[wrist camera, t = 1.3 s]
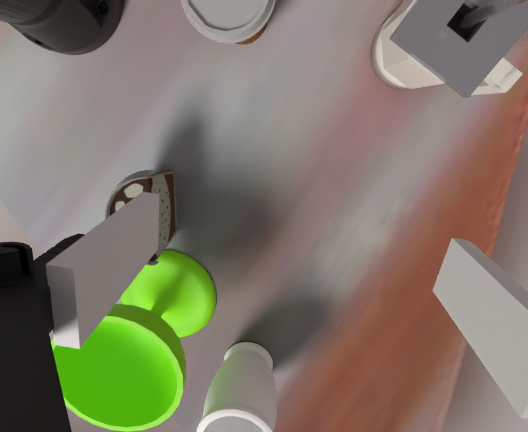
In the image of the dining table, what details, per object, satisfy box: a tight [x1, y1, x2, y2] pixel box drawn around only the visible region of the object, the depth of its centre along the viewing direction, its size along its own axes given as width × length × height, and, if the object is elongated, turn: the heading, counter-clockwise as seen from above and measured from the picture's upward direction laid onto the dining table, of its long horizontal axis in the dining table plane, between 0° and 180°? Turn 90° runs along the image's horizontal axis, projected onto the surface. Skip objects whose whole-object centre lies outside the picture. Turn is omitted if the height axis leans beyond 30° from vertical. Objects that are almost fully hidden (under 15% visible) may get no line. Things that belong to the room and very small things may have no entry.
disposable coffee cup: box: [181, 0, 276, 44], centre depth 38 cm, size 10×10×12 cm
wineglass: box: [51, 250, 216, 432], centre depth 48 cm, size 16×16×18 cm
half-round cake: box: [105, 170, 177, 266], centre depth 47 cm, size 12×6×10 cm, turn 178°
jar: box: [197, 342, 277, 432], centre depth 52 cm, size 11×10×15 cm
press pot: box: [370, 0, 528, 98], centre depth 36 cm, size 13×9×16 cm
